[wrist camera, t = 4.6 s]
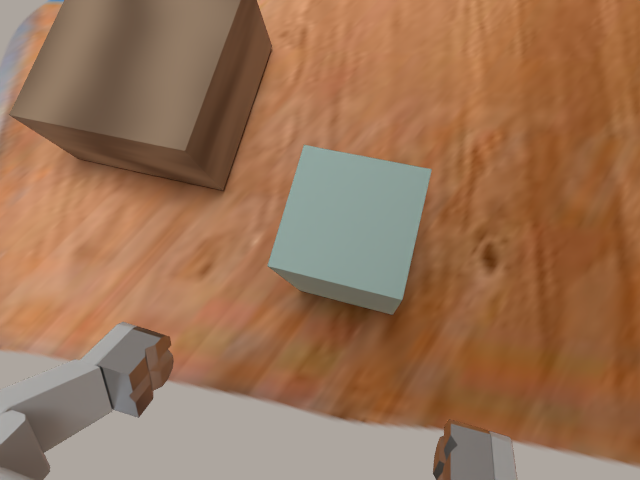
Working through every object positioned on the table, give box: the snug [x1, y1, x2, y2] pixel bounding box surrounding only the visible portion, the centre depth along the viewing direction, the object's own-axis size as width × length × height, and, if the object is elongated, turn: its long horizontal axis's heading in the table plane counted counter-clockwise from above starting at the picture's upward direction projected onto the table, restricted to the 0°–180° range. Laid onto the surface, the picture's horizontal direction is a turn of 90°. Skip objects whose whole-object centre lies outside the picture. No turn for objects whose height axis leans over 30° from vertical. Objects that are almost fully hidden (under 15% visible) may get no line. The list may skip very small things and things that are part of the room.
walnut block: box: [9, 0, 272, 190], centre depth 23 cm, size 10×10×5 cm
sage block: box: [268, 145, 432, 315], centre depth 18 cm, size 5×5×7 cm
